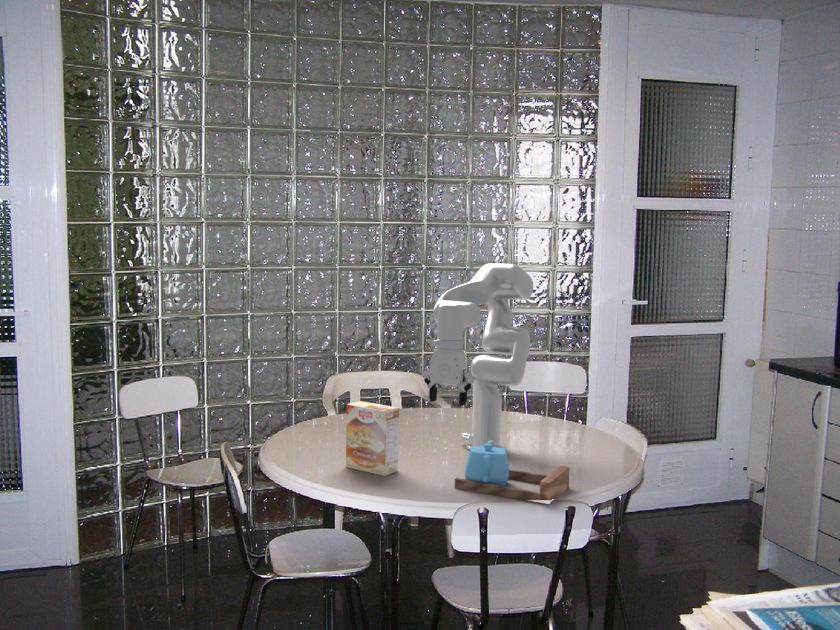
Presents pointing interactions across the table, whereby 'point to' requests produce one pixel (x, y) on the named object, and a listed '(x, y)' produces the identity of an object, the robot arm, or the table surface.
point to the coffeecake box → (372, 437)
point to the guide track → (549, 483)
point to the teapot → (487, 465)
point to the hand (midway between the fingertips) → (447, 403)
